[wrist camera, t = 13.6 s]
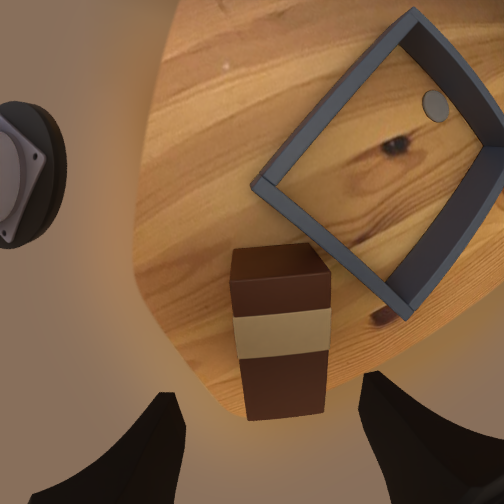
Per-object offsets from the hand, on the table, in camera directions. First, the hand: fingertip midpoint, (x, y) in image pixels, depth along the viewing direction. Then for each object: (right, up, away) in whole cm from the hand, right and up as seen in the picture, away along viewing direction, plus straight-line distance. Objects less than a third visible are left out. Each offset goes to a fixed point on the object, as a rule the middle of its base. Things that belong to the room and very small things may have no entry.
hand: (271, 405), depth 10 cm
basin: (+8, +12, +6) cm, 16 cm away
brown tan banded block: (+1, +2, +9) cm, 9 cm away
